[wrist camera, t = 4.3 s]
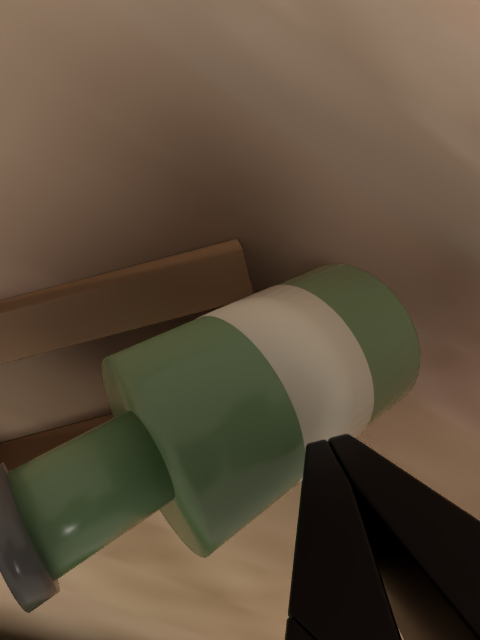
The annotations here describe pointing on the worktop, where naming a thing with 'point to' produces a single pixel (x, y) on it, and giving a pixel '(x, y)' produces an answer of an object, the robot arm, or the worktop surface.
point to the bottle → (210, 423)
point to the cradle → (114, 316)
